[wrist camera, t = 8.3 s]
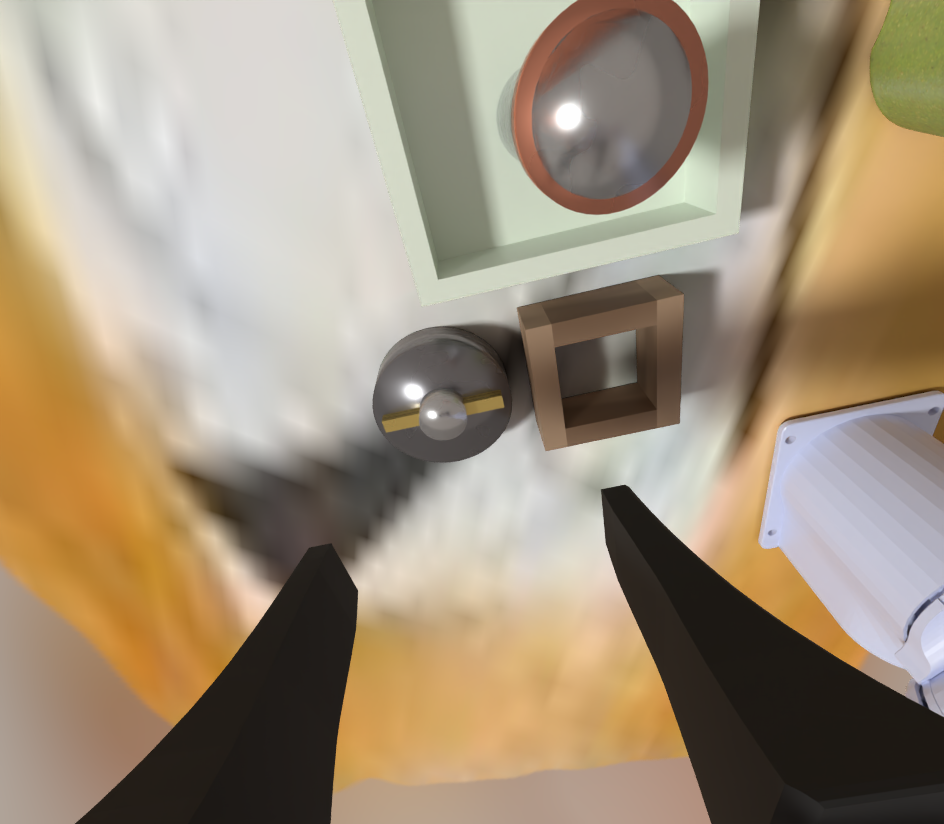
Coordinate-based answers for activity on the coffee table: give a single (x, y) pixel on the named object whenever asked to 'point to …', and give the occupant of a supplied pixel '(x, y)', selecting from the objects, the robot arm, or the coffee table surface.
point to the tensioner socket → (594, 316)
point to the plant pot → (911, 66)
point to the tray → (496, 171)
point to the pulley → (442, 395)
